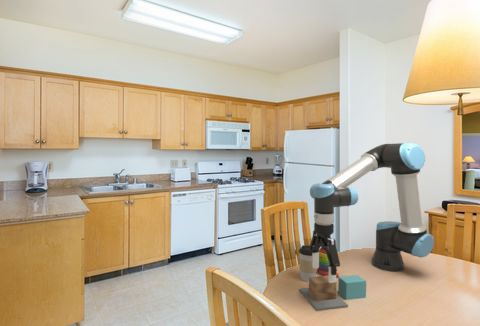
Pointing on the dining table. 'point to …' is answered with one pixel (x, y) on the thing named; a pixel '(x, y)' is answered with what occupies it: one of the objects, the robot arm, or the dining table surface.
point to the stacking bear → (324, 263)
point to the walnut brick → (322, 288)
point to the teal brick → (352, 287)
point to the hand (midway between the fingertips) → (323, 274)
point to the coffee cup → (306, 263)
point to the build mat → (325, 303)
